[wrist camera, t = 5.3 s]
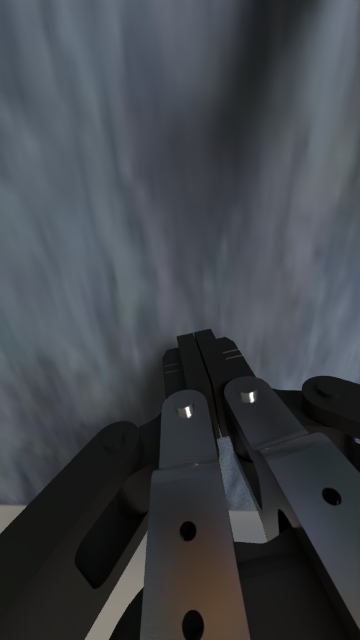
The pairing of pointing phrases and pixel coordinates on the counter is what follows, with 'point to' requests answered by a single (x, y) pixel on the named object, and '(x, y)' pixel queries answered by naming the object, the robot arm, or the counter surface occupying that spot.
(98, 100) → the counter surface
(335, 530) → the robot arm
